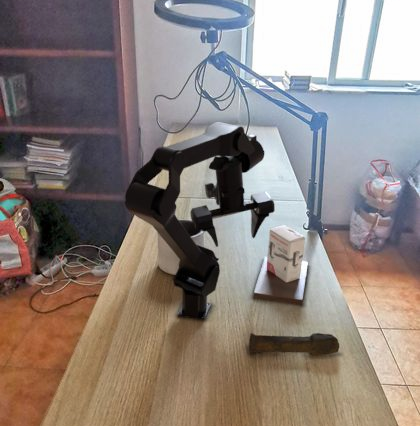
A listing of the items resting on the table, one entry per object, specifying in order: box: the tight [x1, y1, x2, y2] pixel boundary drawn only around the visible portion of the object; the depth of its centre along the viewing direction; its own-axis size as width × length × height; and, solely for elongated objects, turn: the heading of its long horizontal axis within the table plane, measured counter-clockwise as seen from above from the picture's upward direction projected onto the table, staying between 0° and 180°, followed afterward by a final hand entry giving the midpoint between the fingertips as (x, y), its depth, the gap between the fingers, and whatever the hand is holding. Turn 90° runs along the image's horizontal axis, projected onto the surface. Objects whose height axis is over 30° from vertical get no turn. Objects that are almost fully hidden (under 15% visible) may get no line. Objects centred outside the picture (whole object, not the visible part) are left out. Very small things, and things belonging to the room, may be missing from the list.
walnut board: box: [252, 255, 309, 306], centre depth 127 cm, size 20×12×2 cm, turn 167°
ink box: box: [267, 224, 306, 282], centre depth 124 cm, size 9×5×12 cm, turn 33°
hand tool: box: [248, 332, 340, 357], centre depth 102 cm, size 19×4×5 cm, turn 87°
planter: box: [157, 218, 206, 276], centre depth 130 cm, size 12×12×11 cm
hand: (235, 241), depth 118 cm, fingers open, 9 cm apart
